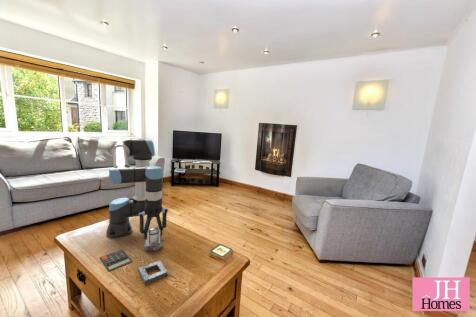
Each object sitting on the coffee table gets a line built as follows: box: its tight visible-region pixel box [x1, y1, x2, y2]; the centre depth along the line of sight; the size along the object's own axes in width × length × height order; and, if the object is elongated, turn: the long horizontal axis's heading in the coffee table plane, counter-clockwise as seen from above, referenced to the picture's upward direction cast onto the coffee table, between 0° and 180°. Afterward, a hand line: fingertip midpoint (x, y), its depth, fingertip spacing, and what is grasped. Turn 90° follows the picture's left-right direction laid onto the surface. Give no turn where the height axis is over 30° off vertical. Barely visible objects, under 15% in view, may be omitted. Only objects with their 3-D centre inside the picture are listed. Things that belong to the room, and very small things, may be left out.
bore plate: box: [137, 260, 168, 285], centre depth 105 cm, size 11×11×2 cm
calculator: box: [99, 248, 133, 272], centre depth 113 cm, size 12×1×15 cm
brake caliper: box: [142, 235, 164, 252], centre depth 126 cm, size 11×11×12 cm
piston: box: [148, 226, 159, 246], centre depth 102 cm, size 5×5×8 cm
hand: (152, 243), depth 102 cm, fingers closed on piston, 5 cm apart
